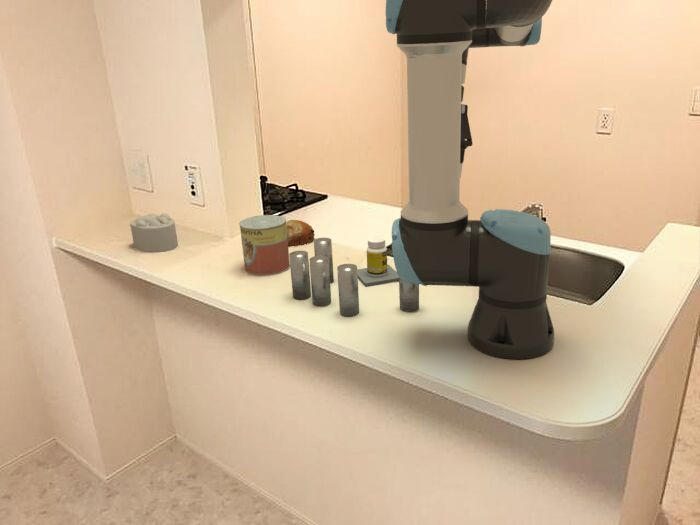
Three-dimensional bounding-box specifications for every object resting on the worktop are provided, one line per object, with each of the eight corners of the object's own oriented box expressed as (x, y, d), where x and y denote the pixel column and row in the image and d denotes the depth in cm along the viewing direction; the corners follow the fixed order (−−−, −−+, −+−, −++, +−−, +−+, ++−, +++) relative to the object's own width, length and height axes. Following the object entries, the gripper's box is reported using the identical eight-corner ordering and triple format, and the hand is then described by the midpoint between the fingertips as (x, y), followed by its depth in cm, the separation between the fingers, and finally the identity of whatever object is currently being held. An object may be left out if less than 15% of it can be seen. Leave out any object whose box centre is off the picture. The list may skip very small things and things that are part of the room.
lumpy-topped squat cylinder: (161, 237, 177) (156, 209, 174) (187, 245, 169) (182, 215, 166) (129, 247, 170) (124, 217, 167) (154, 256, 162) (149, 225, 159)
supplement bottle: (385, 277, 137) (385, 243, 134) (365, 277, 138) (364, 242, 135) (388, 270, 142) (388, 236, 139) (369, 269, 143) (367, 236, 140)
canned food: (236, 268, 150) (230, 222, 146) (273, 256, 157) (269, 212, 153) (260, 279, 142) (255, 231, 138) (299, 267, 149) (295, 220, 144)
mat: (402, 280, 137) (402, 277, 137) (365, 286, 135) (365, 283, 135) (388, 267, 145) (388, 264, 145) (353, 273, 143) (353, 270, 143)
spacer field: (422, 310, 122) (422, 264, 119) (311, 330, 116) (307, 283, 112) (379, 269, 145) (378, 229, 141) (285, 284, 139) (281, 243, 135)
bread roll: (285, 248, 174) (271, 225, 171) (316, 231, 173) (303, 208, 170) (286, 260, 164) (271, 236, 162) (319, 242, 164) (304, 217, 161)
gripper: (496, 82, 130) (483, 180, 133) (431, 90, 151) (421, 174, 155) (468, 76, 126) (456, 178, 130) (406, 85, 148) (397, 172, 151)
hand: (437, 176), depth 142 cm, fingers open, 13 cm apart
